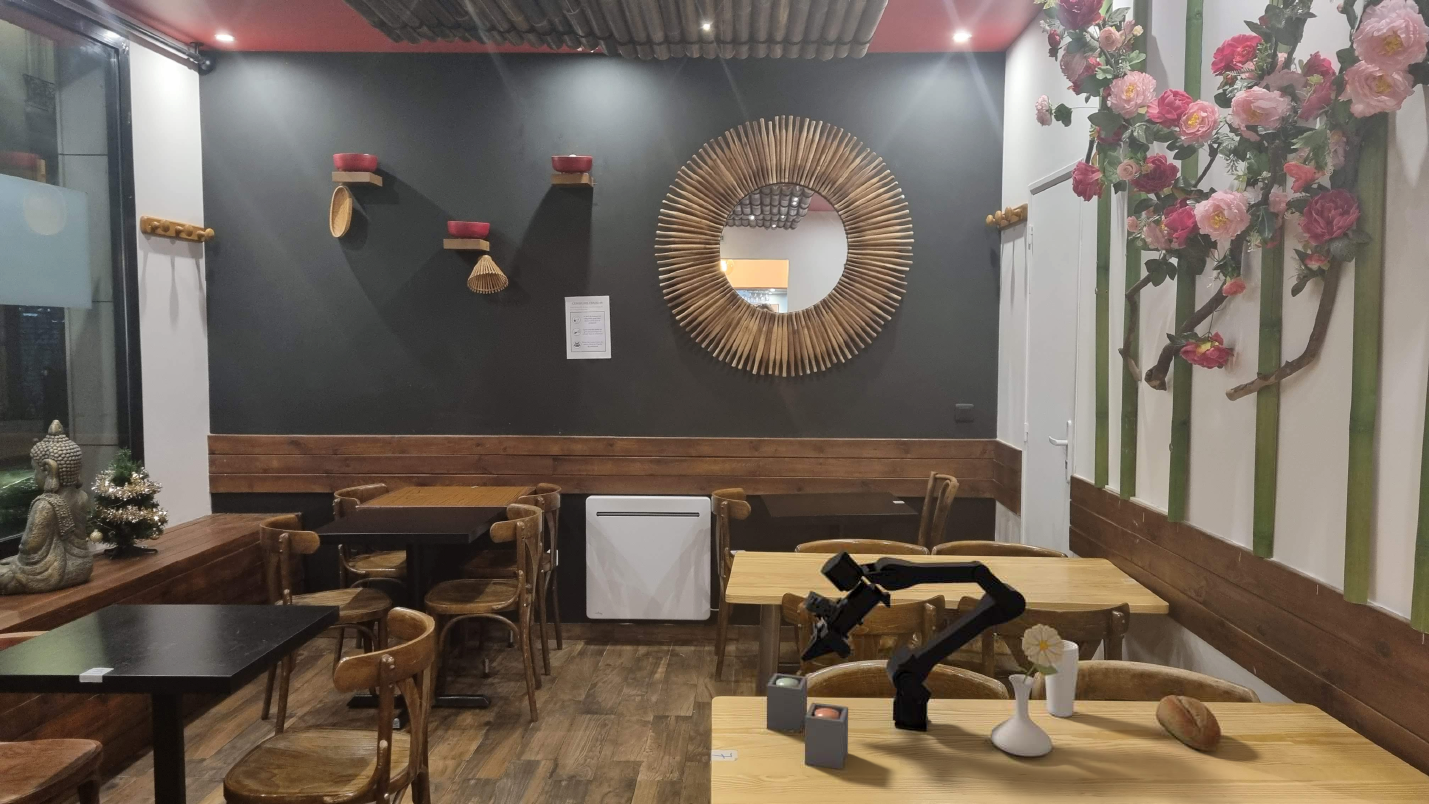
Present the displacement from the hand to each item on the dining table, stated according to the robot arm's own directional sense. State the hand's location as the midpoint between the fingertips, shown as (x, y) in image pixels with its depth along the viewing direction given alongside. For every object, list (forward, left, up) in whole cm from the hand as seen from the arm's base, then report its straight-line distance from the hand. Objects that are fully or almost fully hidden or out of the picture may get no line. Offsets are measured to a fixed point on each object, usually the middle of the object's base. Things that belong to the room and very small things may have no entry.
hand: (802, 659), depth 173 cm
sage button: (+3, +1, -7) cm, 8 cm away
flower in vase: (-44, -2, -14) cm, 46 cm away
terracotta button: (-8, +13, -7) cm, 17 cm away
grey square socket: (+3, +1, -14) cm, 14 cm away
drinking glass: (-52, -22, -14) cm, 58 cm away
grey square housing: (-8, +13, -14) cm, 21 cm away
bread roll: (-75, -17, -14) cm, 78 cm away
